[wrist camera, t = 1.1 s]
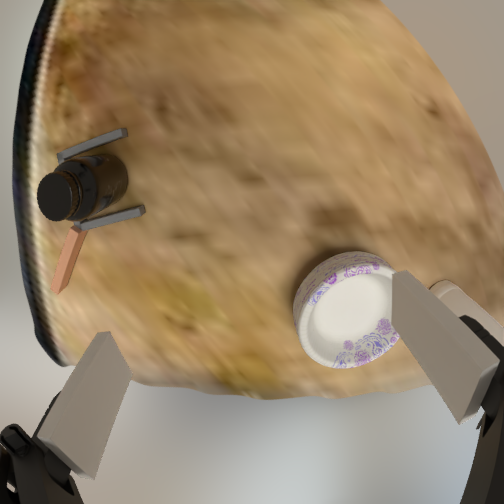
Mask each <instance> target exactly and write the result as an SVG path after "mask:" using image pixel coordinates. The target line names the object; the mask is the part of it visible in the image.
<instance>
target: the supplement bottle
mask: <svg viewBox="0 0 504 504" xmlns="http://www.w3.org/2000/svg"><path fill="white" fill-rule="evenodd" d="M126 187H127V173H126V169H125V167H124V165H123V164H122V162H121V161H120V160H119V159H117V158H116V157H114V156H112V155H109V154H100V155H92V156H85V157H79V158H72V159H69V160H66V161H64V162H62V163H61V164H60V165H58V166H57V168H56V169H55V170H54V172H52V173H49V174H48V175H46V176H45V177H44V178H43V179H42V181H40V184H39V187H38V189H37V191H38V192H37V200H38V205H39V208H40V210H41V212H42V213H43V215H45V217H46V218H48V219H49V220H52V221H56V222H57V221H62V220H64V219H66V220H68V221H72V222H78V221H82V220H85V219H87V218H89V217H90V216H92V215H94V214H96V213H98V212H100V211H102V210H103V209H105V208H107V207H109V206H111V205H113V204H115V203H116V202H117V201H119V200H120V199H121V197H122V196H123V194H124V192H125V190H126Z"/></svg>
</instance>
